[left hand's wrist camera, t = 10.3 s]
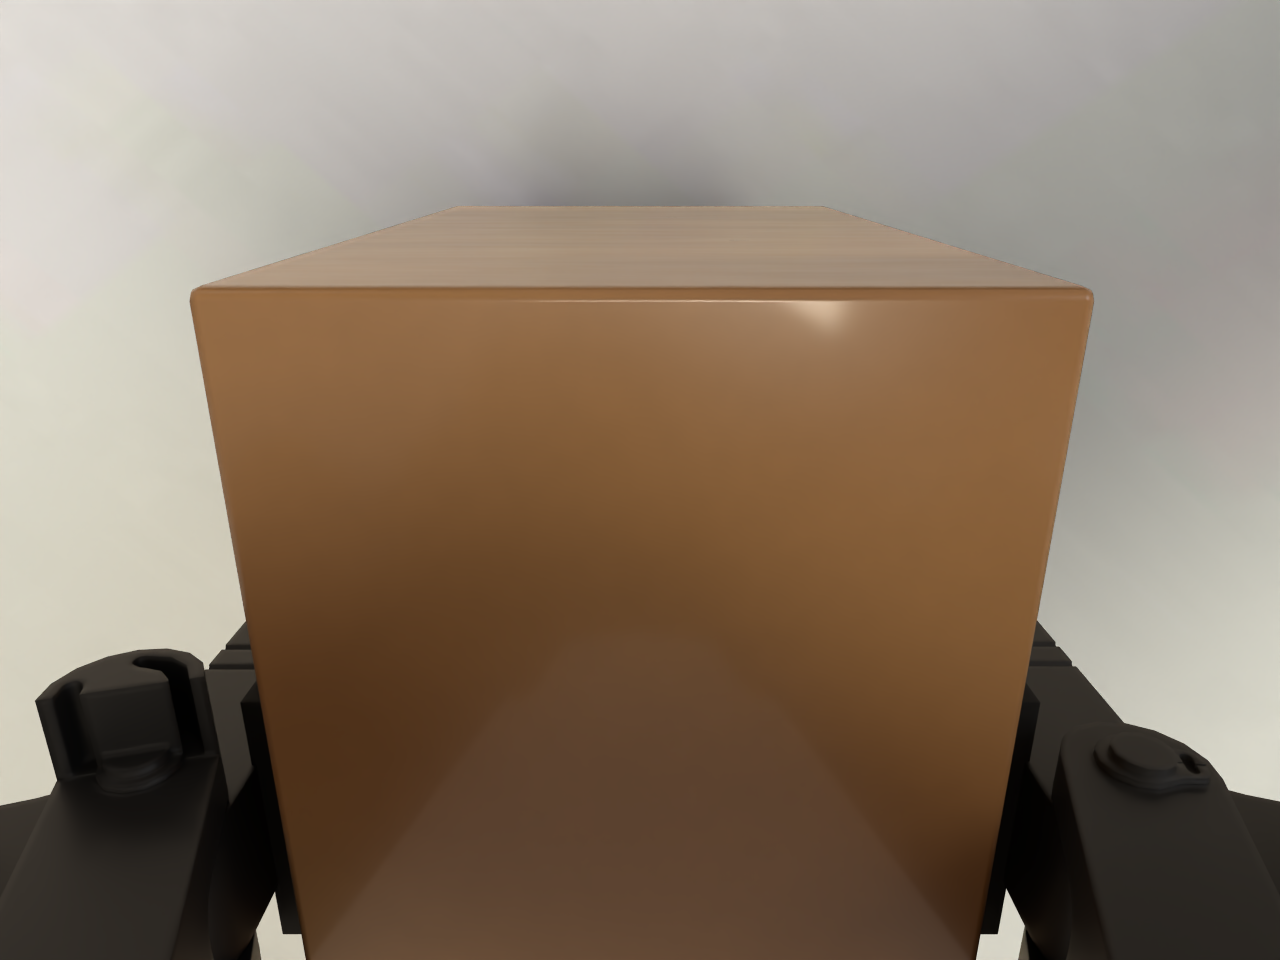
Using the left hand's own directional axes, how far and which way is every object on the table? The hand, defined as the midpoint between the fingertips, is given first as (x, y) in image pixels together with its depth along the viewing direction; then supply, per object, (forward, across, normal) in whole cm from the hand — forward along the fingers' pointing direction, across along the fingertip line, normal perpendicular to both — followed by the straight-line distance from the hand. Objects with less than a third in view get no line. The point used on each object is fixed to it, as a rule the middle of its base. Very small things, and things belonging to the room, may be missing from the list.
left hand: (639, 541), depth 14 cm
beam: (+1, 0, -32) cm, 32 cm away
